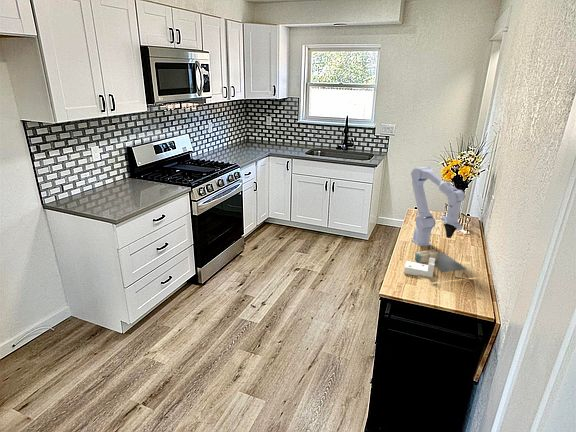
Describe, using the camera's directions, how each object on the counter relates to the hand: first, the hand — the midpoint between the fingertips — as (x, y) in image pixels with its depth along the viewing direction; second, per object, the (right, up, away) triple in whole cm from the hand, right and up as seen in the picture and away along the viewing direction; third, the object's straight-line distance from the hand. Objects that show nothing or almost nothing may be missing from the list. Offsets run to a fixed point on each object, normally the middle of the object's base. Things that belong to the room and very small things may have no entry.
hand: (448, 237), depth 196 cm
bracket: (-21, -17, -14) cm, 31 cm away
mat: (-5, -13, -5) cm, 15 cm away
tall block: (-8, -9, -4) cm, 13 cm away
